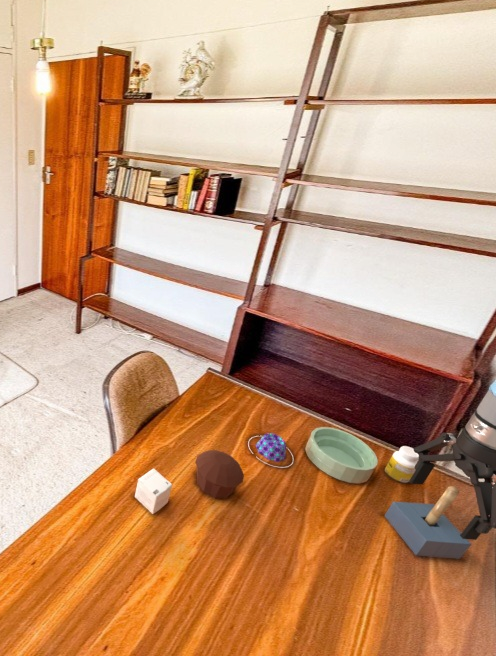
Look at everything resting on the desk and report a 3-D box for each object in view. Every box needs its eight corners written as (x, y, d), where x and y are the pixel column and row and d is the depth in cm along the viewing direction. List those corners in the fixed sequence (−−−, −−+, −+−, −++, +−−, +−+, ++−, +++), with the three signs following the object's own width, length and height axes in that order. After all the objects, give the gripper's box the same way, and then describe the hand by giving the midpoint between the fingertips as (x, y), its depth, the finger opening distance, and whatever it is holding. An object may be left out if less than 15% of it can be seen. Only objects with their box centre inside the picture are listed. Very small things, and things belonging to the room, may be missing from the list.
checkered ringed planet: (300, 472, 111) (306, 459, 108) (255, 466, 112) (260, 452, 110) (283, 440, 121) (288, 427, 119) (242, 435, 123) (246, 422, 121)
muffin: (190, 496, 102) (198, 468, 98) (190, 463, 112) (197, 437, 108) (239, 510, 99) (250, 483, 95) (235, 476, 109) (244, 449, 104)
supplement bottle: (385, 465, 114) (400, 440, 110) (409, 478, 110) (425, 452, 106) (381, 475, 111) (395, 450, 106) (405, 488, 107) (421, 463, 103)
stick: (418, 534, 95) (455, 484, 89) (424, 542, 94) (463, 491, 87) (410, 533, 95) (447, 483, 89) (417, 541, 94) (455, 490, 87)
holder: (422, 520, 99) (434, 504, 96) (458, 560, 90) (471, 544, 87) (382, 517, 99) (393, 501, 96) (414, 557, 90) (426, 541, 88)
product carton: (149, 487, 104) (153, 467, 101) (167, 504, 100) (173, 484, 97) (133, 498, 101) (137, 478, 98) (152, 516, 97) (157, 496, 94)
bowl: (345, 443, 121) (352, 428, 119) (382, 487, 107) (392, 471, 105) (294, 440, 122) (300, 425, 119) (324, 483, 108) (332, 467, 105)
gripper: (420, 397, 92) (382, 463, 101) (536, 490, 70) (475, 564, 79) (452, 399, 92) (412, 464, 101) (580, 493, 69) (513, 566, 78)
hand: (439, 508), depth 90 cm, fingers open, 13 cm apart
